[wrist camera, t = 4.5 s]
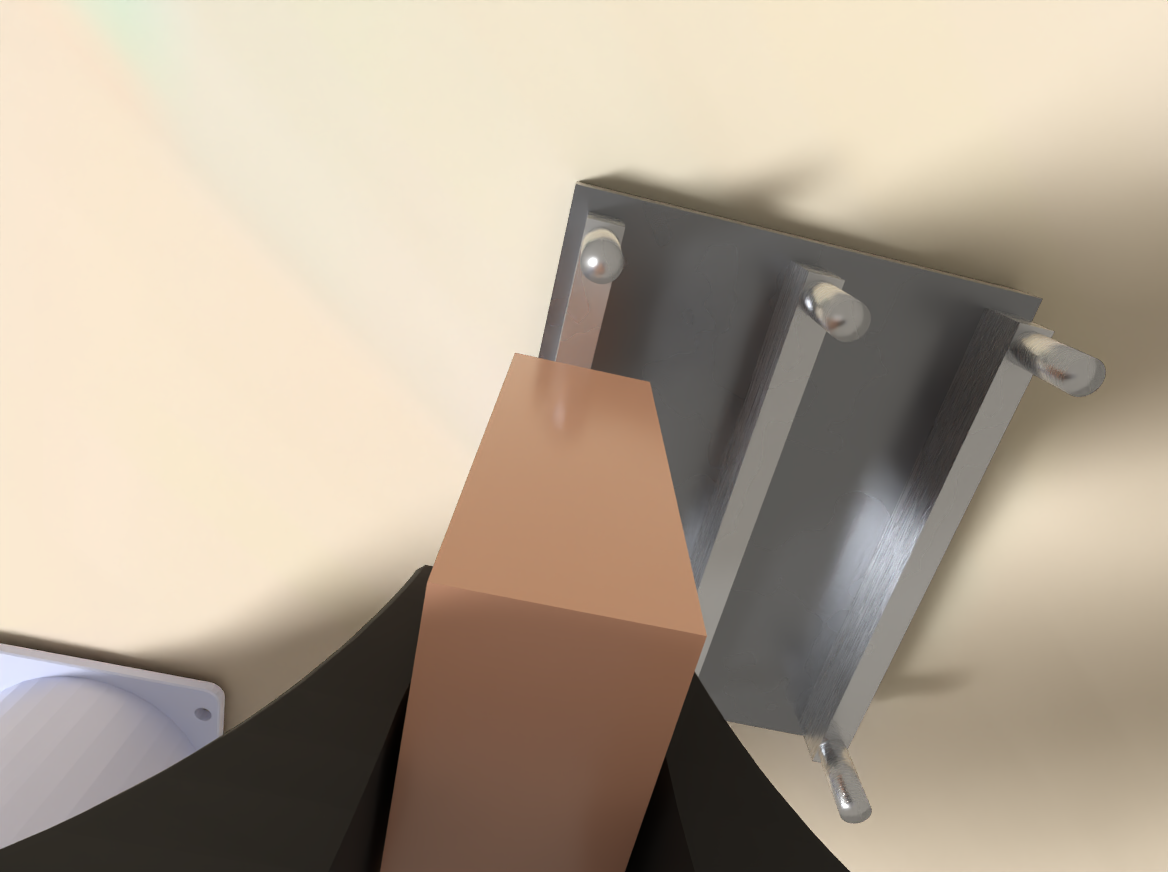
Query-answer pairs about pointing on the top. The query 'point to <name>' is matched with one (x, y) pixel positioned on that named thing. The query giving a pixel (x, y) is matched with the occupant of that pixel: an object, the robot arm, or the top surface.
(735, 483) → the pegged metal rack
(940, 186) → the top surface
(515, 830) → the peach brick
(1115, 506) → the top surface
